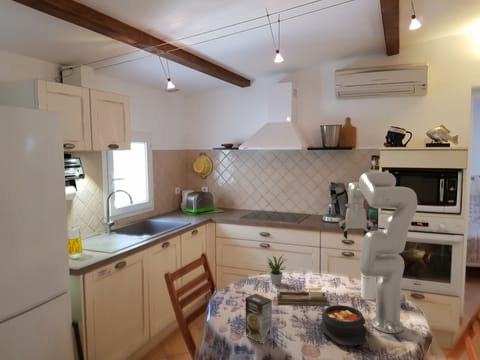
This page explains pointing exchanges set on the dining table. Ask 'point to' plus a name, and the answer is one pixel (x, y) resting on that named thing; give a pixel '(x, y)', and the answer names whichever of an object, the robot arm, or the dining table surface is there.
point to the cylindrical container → (368, 287)
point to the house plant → (276, 270)
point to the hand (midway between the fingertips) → (355, 238)
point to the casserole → (344, 325)
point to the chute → (299, 298)
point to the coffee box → (259, 317)
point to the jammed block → (315, 292)
